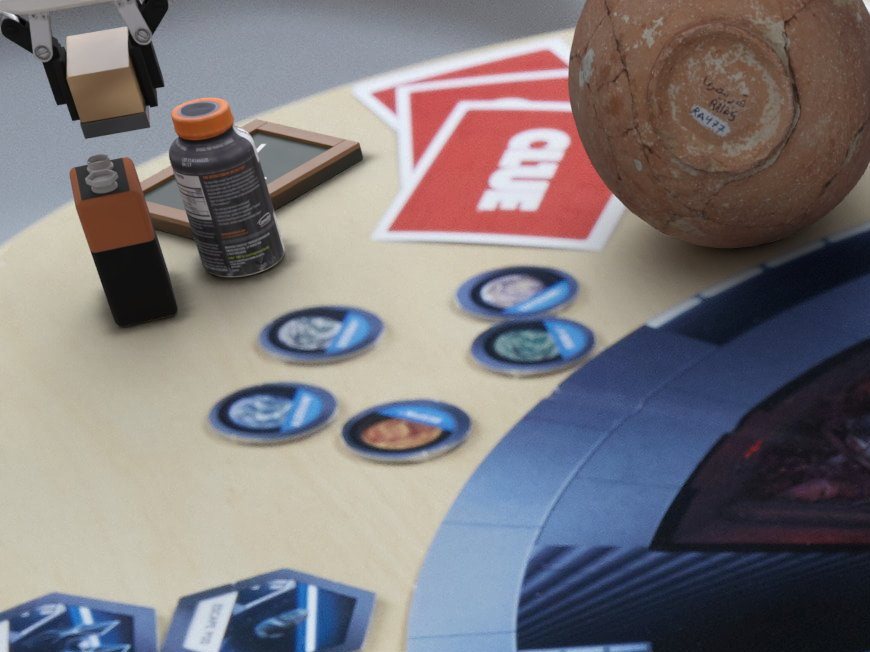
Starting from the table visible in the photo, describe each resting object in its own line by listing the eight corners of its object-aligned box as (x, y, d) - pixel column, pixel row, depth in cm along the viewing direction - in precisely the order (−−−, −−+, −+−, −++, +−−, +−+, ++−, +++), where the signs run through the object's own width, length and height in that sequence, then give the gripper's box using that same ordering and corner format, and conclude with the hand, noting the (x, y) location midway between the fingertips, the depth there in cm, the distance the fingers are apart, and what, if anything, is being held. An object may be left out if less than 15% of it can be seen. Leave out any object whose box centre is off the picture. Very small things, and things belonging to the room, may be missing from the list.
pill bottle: (292, 239, 175) (249, 86, 167) (279, 276, 170) (235, 120, 163) (211, 246, 175) (164, 93, 167) (196, 283, 170) (148, 128, 163)
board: (215, 244, 175) (210, 228, 174) (110, 217, 179) (104, 201, 179) (363, 158, 185) (359, 142, 184) (260, 134, 189) (256, 118, 188)
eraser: (84, 139, 155) (64, 78, 153) (83, 95, 161) (64, 36, 158) (150, 127, 156) (131, 67, 153) (147, 84, 162) (128, 25, 159)
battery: (116, 330, 166) (69, 192, 159) (108, 289, 171) (62, 153, 164) (180, 317, 167) (136, 179, 160) (170, 276, 171) (127, 141, 165)
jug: (500, 175, 156) (549, 115, 183) (795, 334, 162) (801, 253, 188) (642, -147, 148) (672, -161, 175) (948, 33, 154) (932, -7, 180)
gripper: (157, -227, 150) (240, 63, 162) (-120, -185, 147) (-14, 107, 160) (161, -193, 144) (246, 105, 157) (-127, -148, 142) (-17, 151, 154)
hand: (114, 103), depth 158 cm, fingers closed on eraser, 4 cm apart
